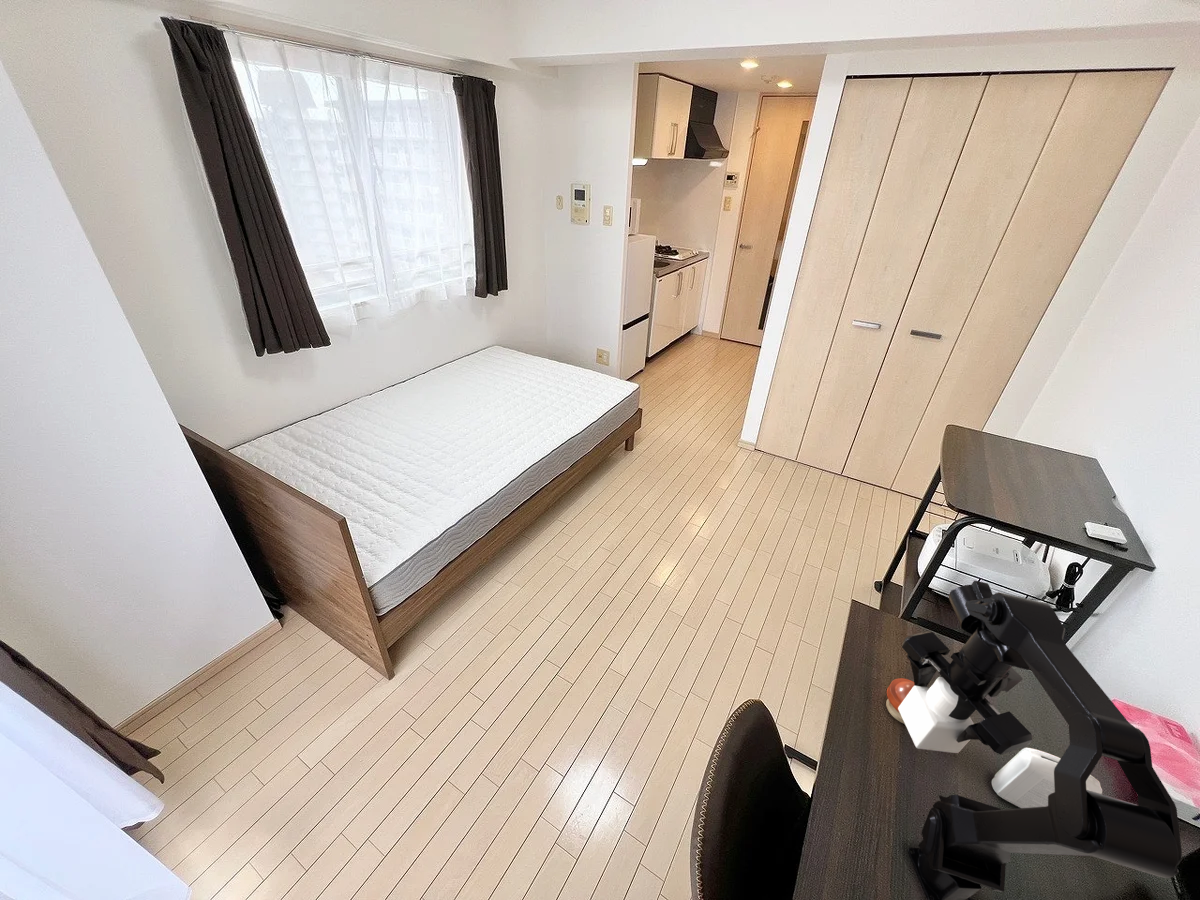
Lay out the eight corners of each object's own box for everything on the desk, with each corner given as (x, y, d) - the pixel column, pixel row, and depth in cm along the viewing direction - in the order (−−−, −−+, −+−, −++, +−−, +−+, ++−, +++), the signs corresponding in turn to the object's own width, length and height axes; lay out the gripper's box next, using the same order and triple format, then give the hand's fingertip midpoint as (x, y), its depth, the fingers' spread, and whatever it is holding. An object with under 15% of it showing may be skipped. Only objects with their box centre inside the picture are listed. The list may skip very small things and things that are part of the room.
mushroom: (931, 731, 92) (948, 710, 88) (892, 729, 92) (908, 707, 88) (910, 693, 98) (925, 672, 95) (873, 691, 98) (887, 669, 94)
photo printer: (1059, 807, 82) (1105, 772, 76) (1065, 833, 79) (1113, 798, 73) (989, 772, 86) (1026, 736, 80) (992, 795, 83) (1031, 760, 77)
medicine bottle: (936, 712, 86) (968, 672, 80) (958, 754, 80) (995, 714, 74) (896, 707, 87) (925, 667, 80) (915, 749, 80) (948, 709, 74)
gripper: (1087, 707, 67) (1026, 762, 76) (970, 602, 82) (930, 658, 91) (1029, 724, 64) (972, 780, 73) (919, 613, 80) (882, 669, 88)
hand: (938, 715), depth 81 cm, fingers closed on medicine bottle, 8 cm apart
